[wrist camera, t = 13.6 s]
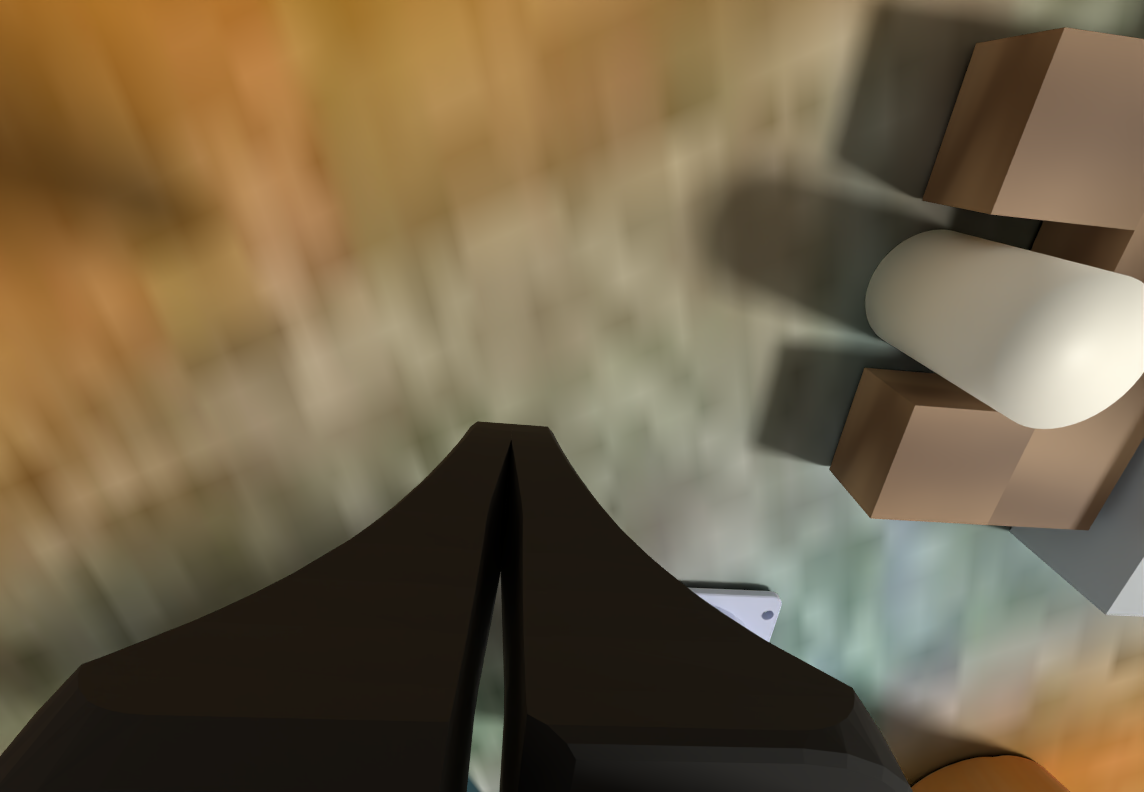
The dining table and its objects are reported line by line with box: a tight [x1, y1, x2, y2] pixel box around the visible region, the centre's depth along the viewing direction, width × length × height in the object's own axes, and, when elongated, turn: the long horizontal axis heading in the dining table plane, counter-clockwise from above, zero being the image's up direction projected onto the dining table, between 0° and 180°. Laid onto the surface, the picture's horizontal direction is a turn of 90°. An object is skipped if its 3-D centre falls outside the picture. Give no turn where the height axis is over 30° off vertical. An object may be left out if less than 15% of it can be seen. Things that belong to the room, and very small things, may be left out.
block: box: [829, 27, 1144, 530], centre depth 18 cm, size 14×8×3 cm, turn 174°
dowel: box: [865, 229, 1144, 429], centre depth 17 cm, size 4×4×6 cm
